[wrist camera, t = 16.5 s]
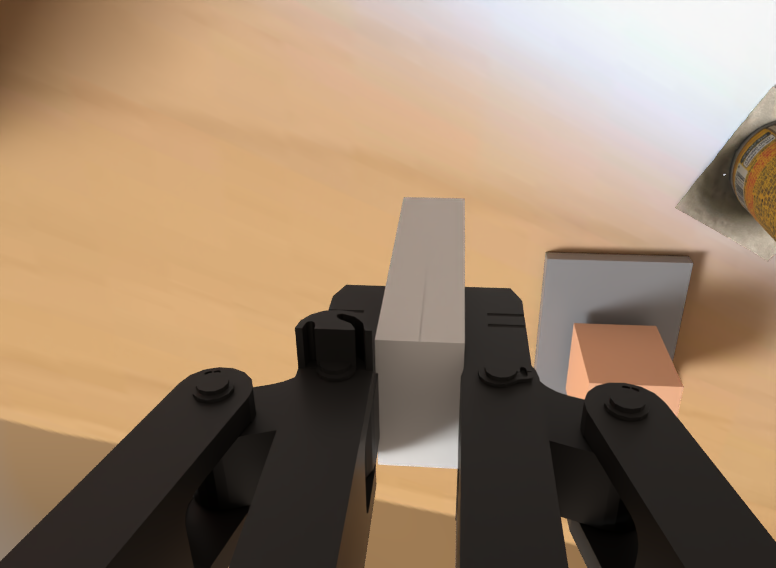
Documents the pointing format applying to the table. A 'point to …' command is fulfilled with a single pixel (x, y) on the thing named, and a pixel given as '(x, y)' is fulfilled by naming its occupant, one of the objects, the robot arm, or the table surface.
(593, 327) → the peach foam cube
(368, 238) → the table surface
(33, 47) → the table surface
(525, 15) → the table surface
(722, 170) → the condiment
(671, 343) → the plinth
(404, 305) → the robot arm
